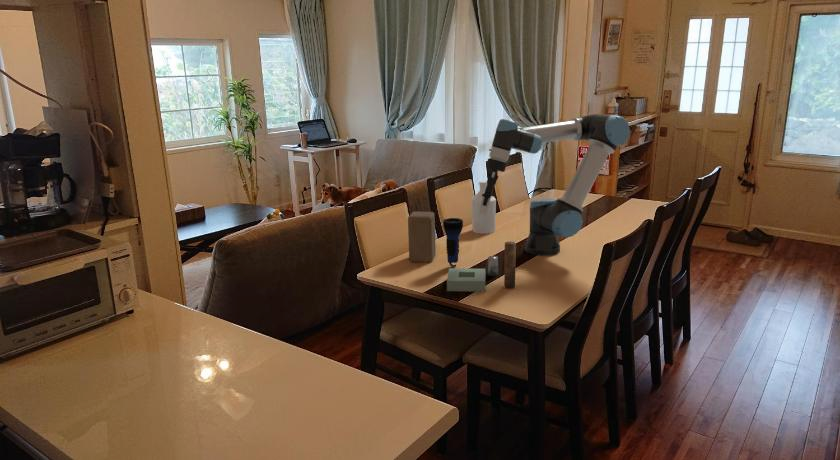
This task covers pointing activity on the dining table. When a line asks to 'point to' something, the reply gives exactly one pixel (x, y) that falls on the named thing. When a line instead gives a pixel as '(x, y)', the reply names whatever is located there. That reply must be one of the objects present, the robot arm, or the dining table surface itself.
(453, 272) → the collar block
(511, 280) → the long pin
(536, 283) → the dining table surface
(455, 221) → the flashlight
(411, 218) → the wooden block
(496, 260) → the short pin
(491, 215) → the bottle
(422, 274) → the dining table surface
